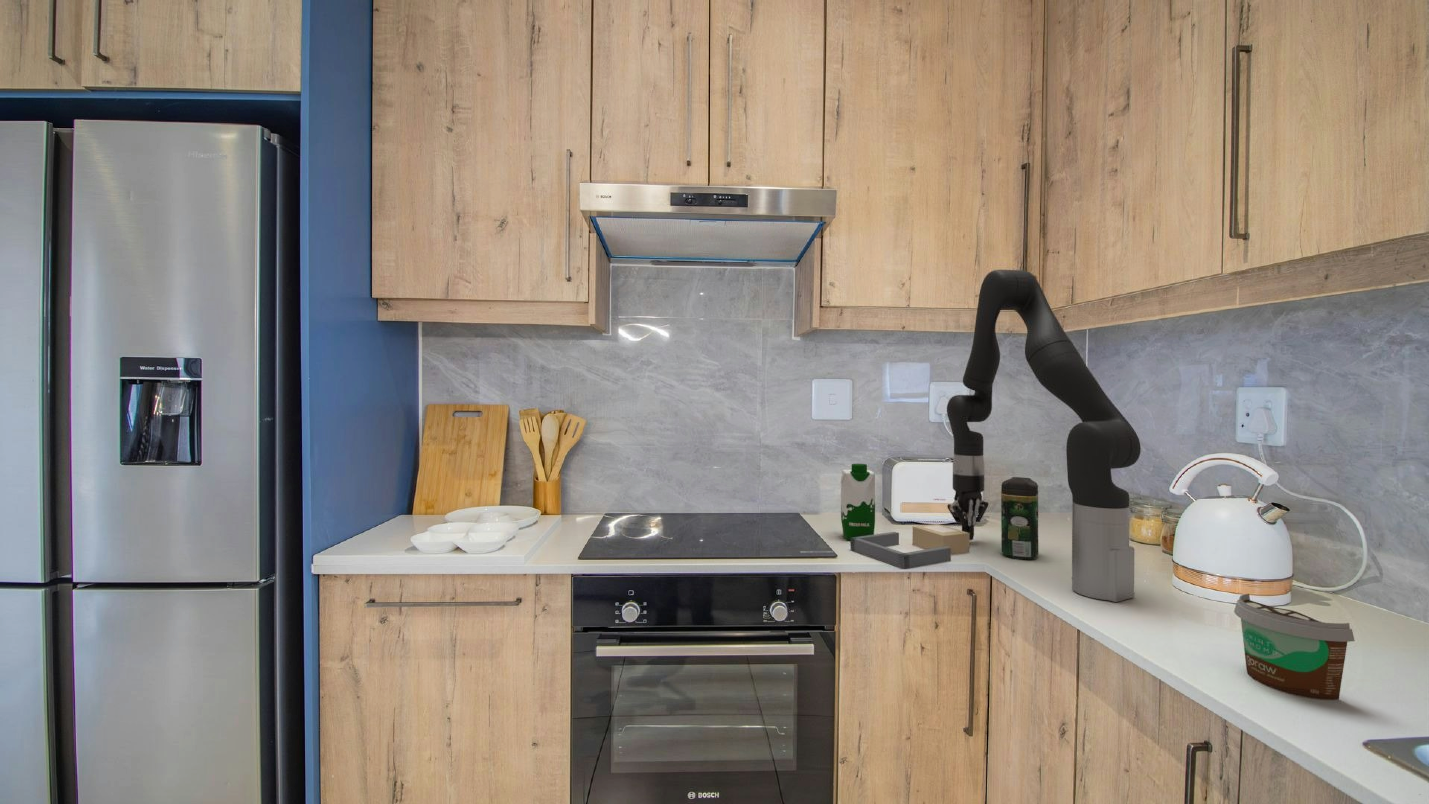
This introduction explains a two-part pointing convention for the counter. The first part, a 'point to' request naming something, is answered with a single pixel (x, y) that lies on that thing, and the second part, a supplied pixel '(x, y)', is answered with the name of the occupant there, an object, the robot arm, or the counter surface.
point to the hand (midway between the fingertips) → (967, 539)
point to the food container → (1293, 650)
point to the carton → (941, 538)
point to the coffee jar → (1019, 518)
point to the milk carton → (857, 501)
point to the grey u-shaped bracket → (878, 550)
